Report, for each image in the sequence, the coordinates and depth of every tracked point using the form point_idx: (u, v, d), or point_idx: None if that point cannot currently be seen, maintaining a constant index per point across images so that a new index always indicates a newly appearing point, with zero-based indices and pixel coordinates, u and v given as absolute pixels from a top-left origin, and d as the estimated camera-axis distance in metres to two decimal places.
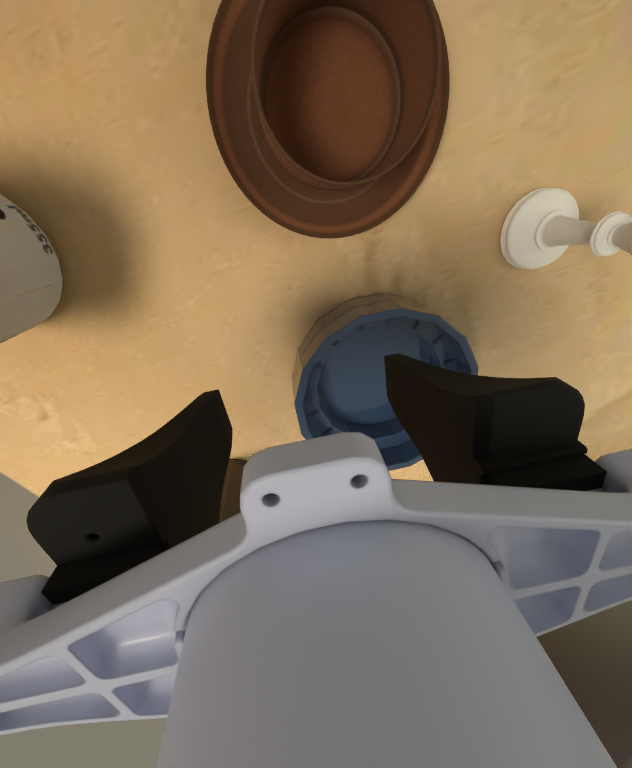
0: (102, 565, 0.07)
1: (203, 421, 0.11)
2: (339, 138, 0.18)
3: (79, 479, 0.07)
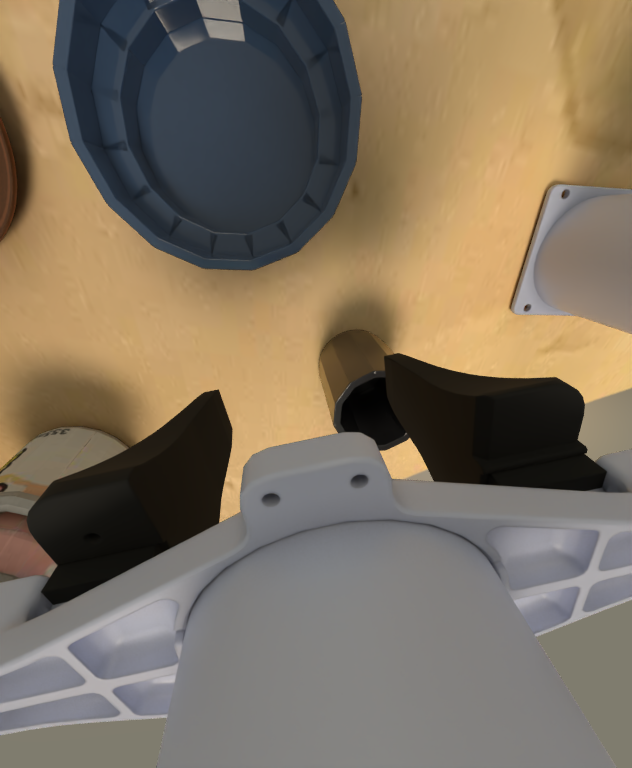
0: (102, 565, 0.07)
1: (203, 421, 0.11)
2: None
3: (79, 479, 0.07)
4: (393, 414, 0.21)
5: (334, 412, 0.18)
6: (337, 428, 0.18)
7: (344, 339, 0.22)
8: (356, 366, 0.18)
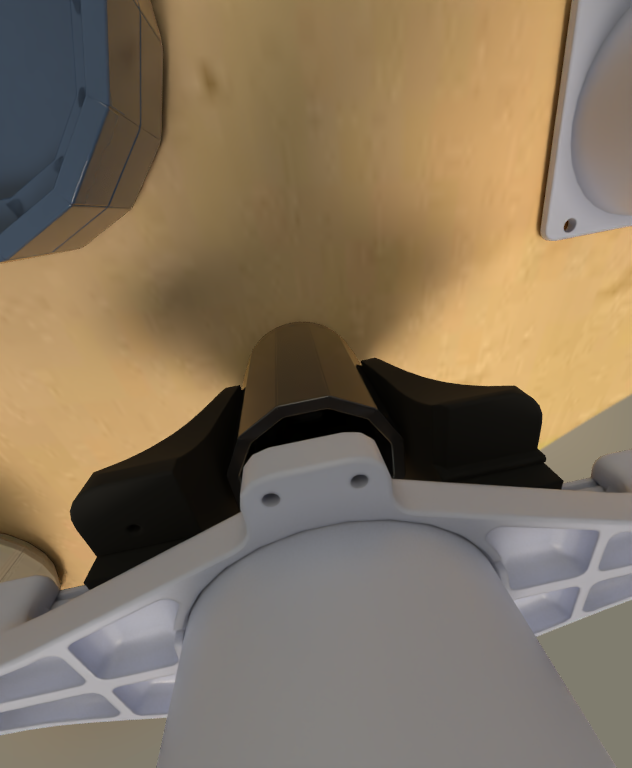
0: (143, 556, 0.07)
1: (228, 416, 0.11)
2: None
3: (122, 470, 0.07)
4: None
5: (232, 490, 0.10)
6: None
7: (266, 344, 0.14)
8: (259, 397, 0.10)
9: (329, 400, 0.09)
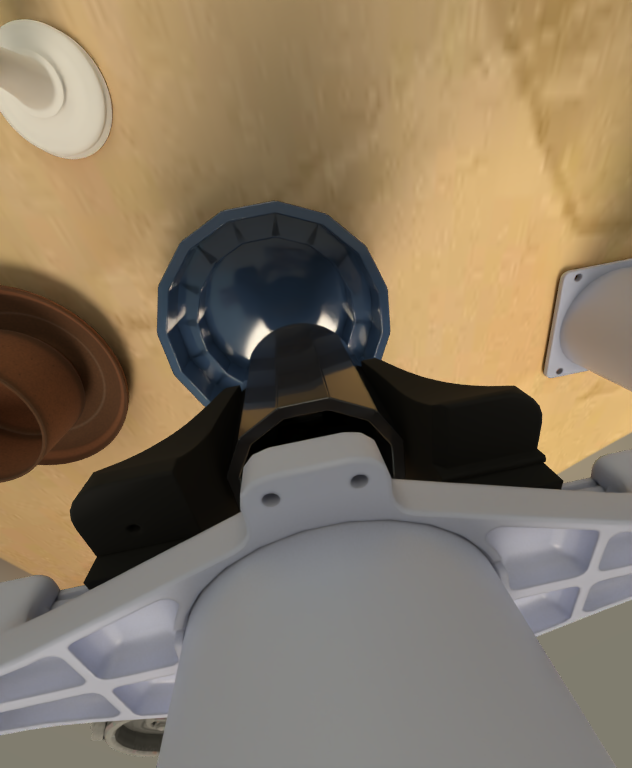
0: (143, 556, 0.07)
1: (228, 416, 0.11)
2: None
3: (122, 470, 0.07)
4: None
5: (233, 491, 0.10)
6: None
7: (266, 345, 0.14)
8: (259, 398, 0.10)
9: (329, 402, 0.09)
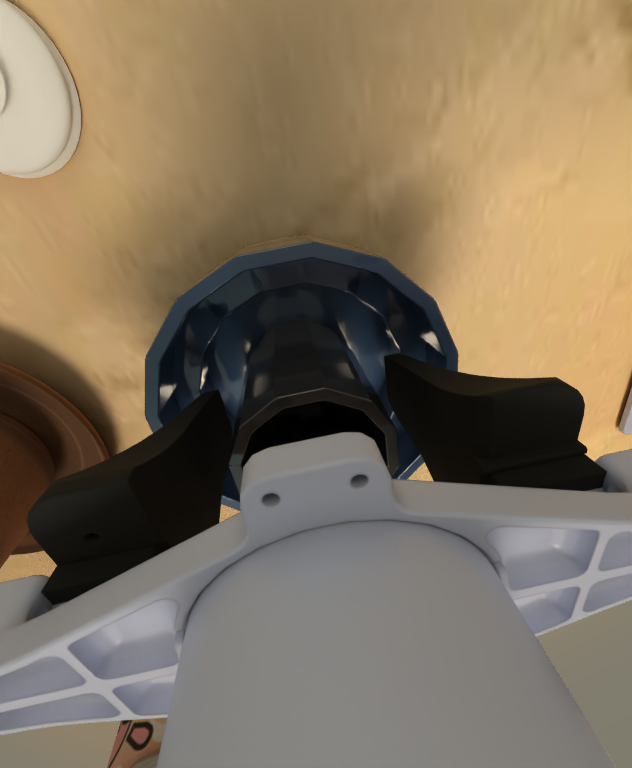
0: (102, 565, 0.07)
1: (203, 421, 0.11)
2: None
3: (79, 479, 0.07)
4: None
5: (234, 478, 0.10)
6: None
7: (266, 340, 0.14)
8: (259, 390, 0.10)
9: (326, 392, 0.09)
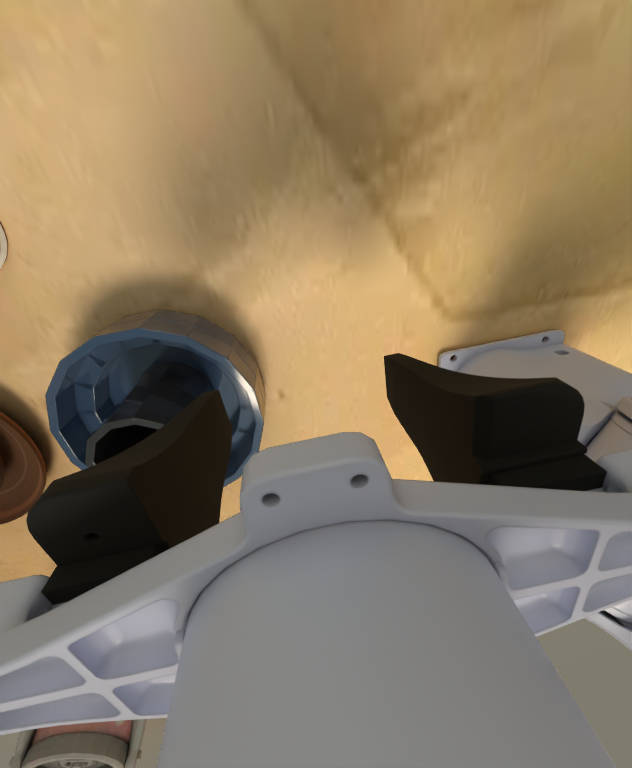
0: (102, 565, 0.07)
1: (203, 421, 0.11)
2: None
3: (79, 479, 0.07)
4: None
5: None
6: None
7: (139, 378, 0.21)
8: (108, 416, 0.17)
9: (136, 420, 0.16)
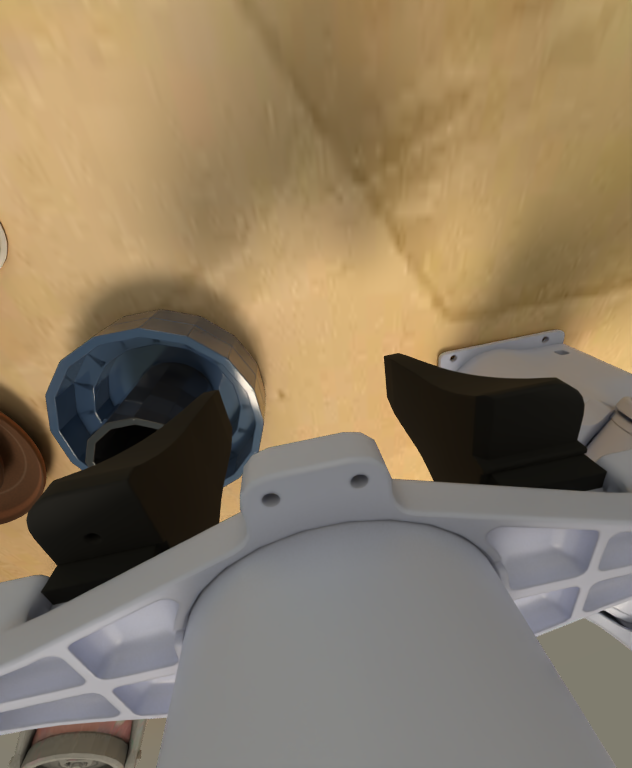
0: (102, 565, 0.07)
1: (203, 421, 0.11)
2: None
3: (79, 479, 0.07)
4: None
5: None
6: None
7: (139, 378, 0.21)
8: (108, 416, 0.17)
9: (136, 420, 0.16)
